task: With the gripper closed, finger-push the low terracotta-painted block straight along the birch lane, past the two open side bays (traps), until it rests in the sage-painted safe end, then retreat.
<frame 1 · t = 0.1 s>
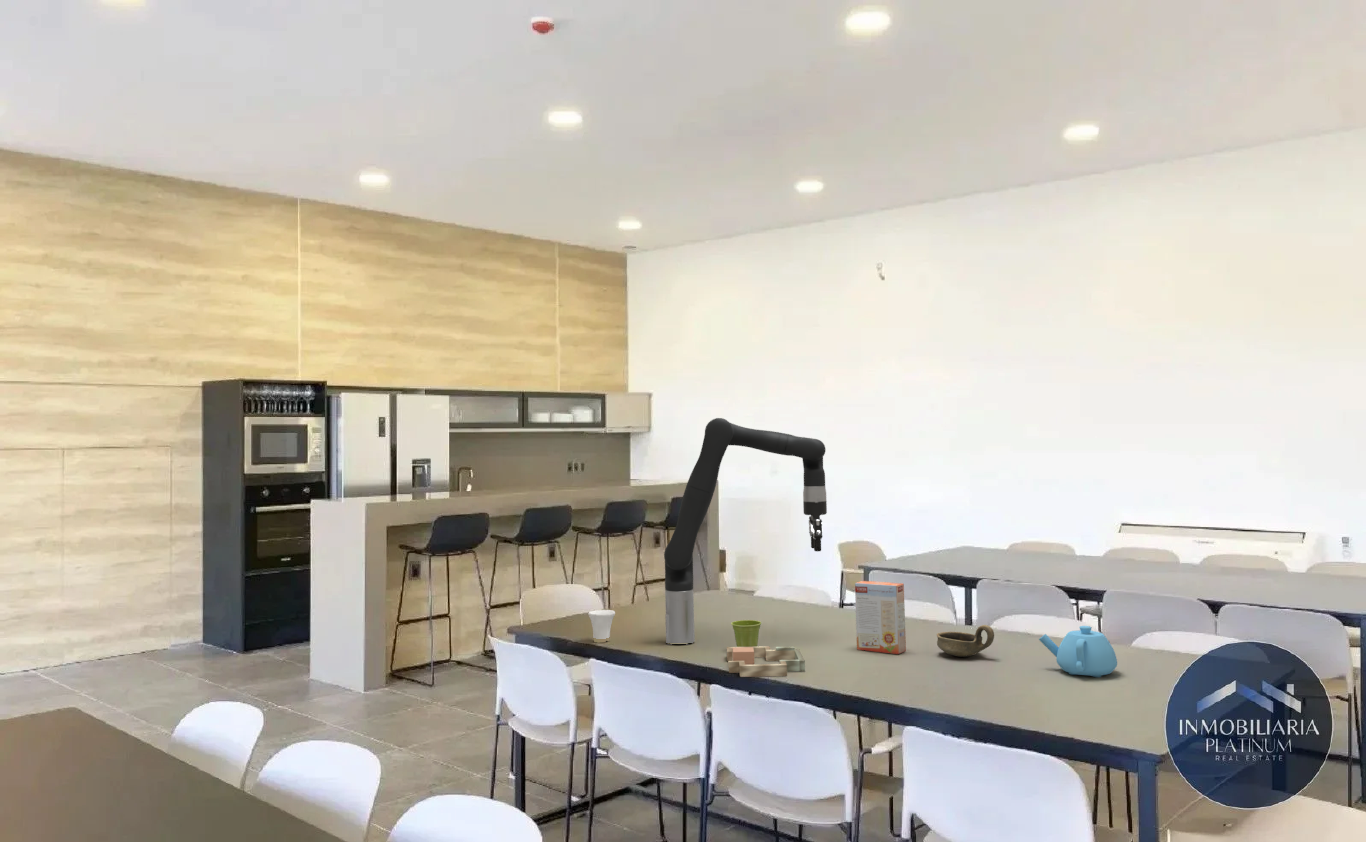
hand: (816, 549, 319), 29 cm above the table, fingers open, 8 cm apart
bowl: (965, 657, 290), on the table
cracker box: (881, 651, 300), on the table
plant pot: (747, 651, 305), on the table
block: (743, 666, 284), on the table
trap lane: (762, 666, 284), on the table
cup: (602, 642, 323), on the table
teapot: (1077, 672, 268), on the table
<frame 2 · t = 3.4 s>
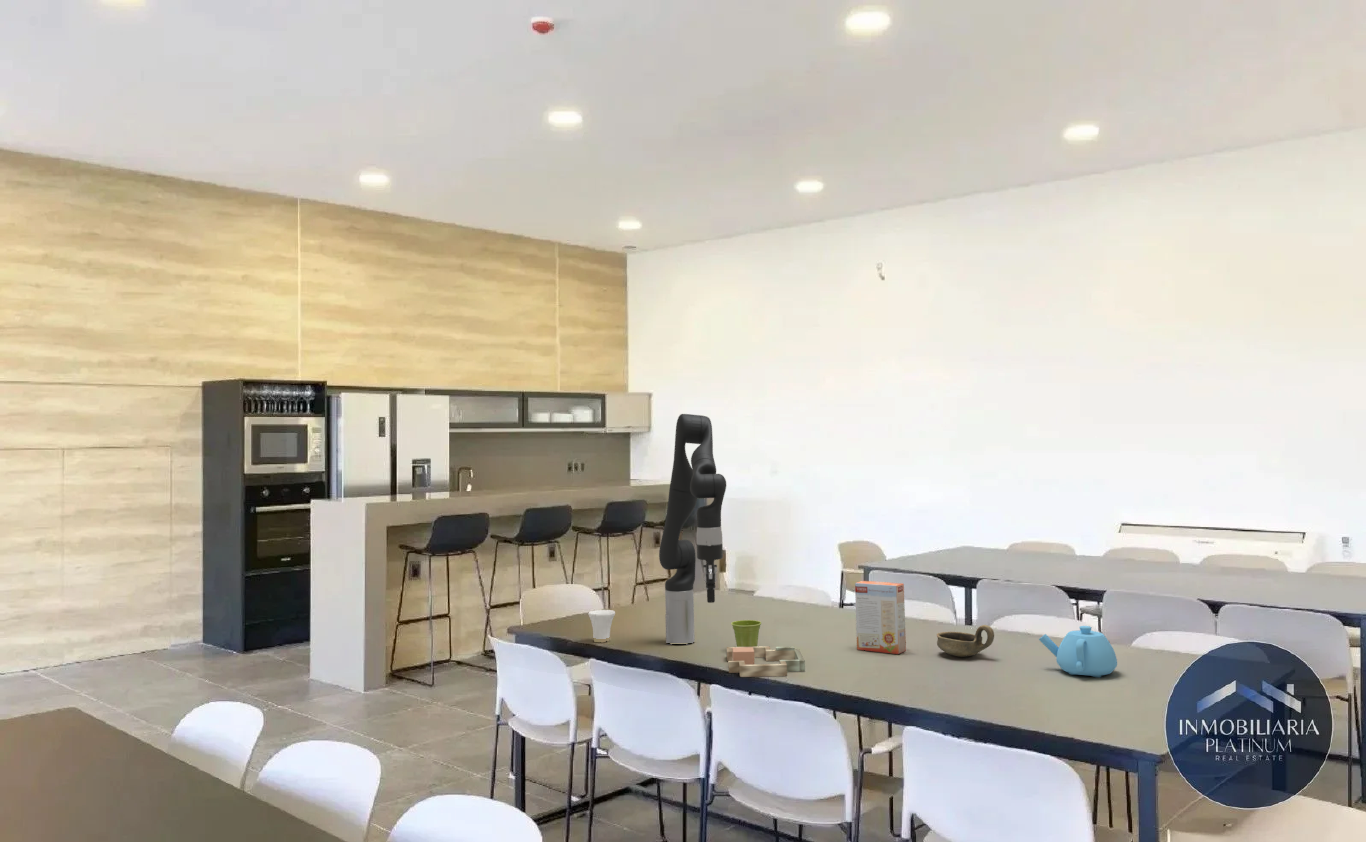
hand: (711, 602, 284), 19 cm above the table, fingers closed
nothing on the table moved.
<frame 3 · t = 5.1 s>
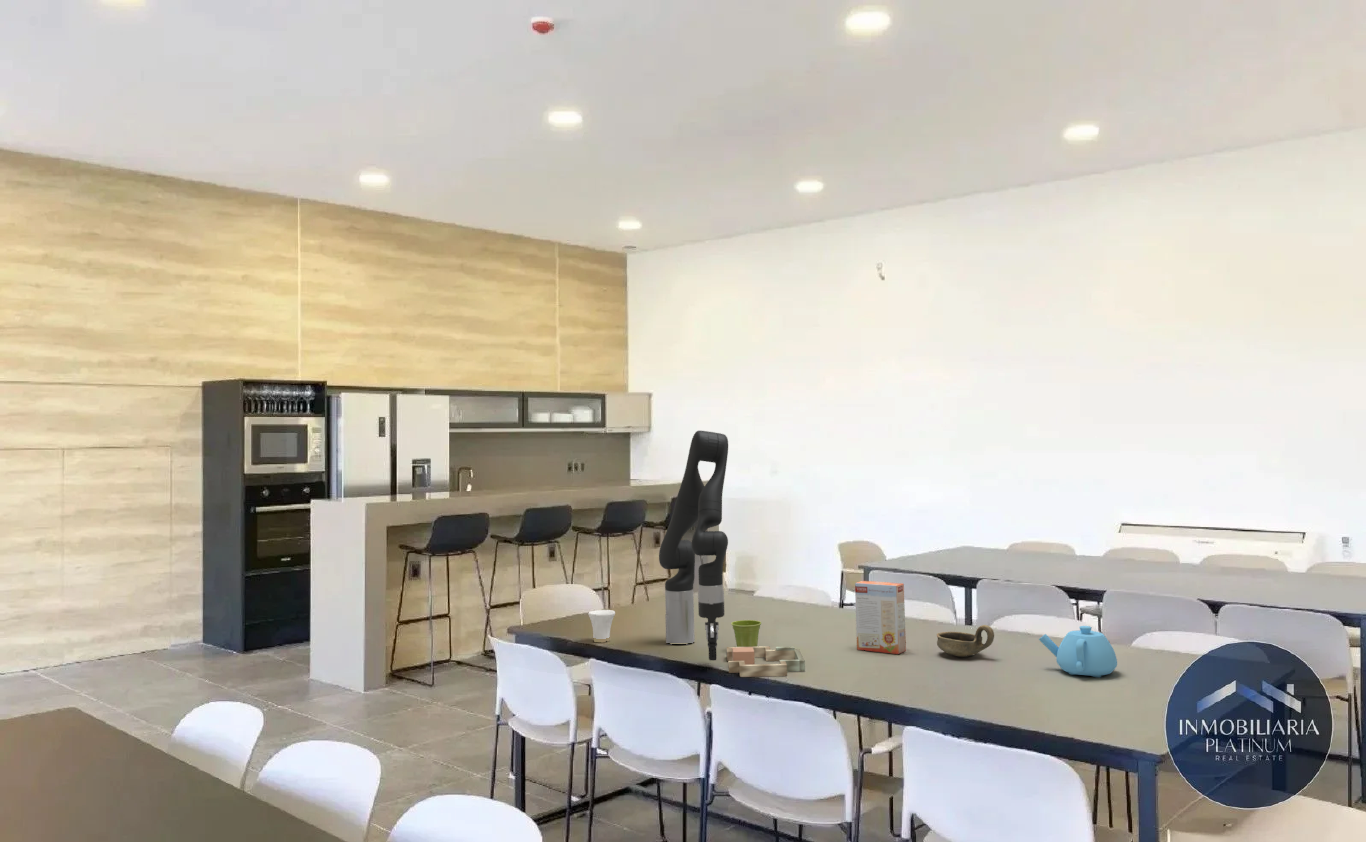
hand: (712, 659, 284), 2 cm above the table, fingers closed
nothing on the table moved.
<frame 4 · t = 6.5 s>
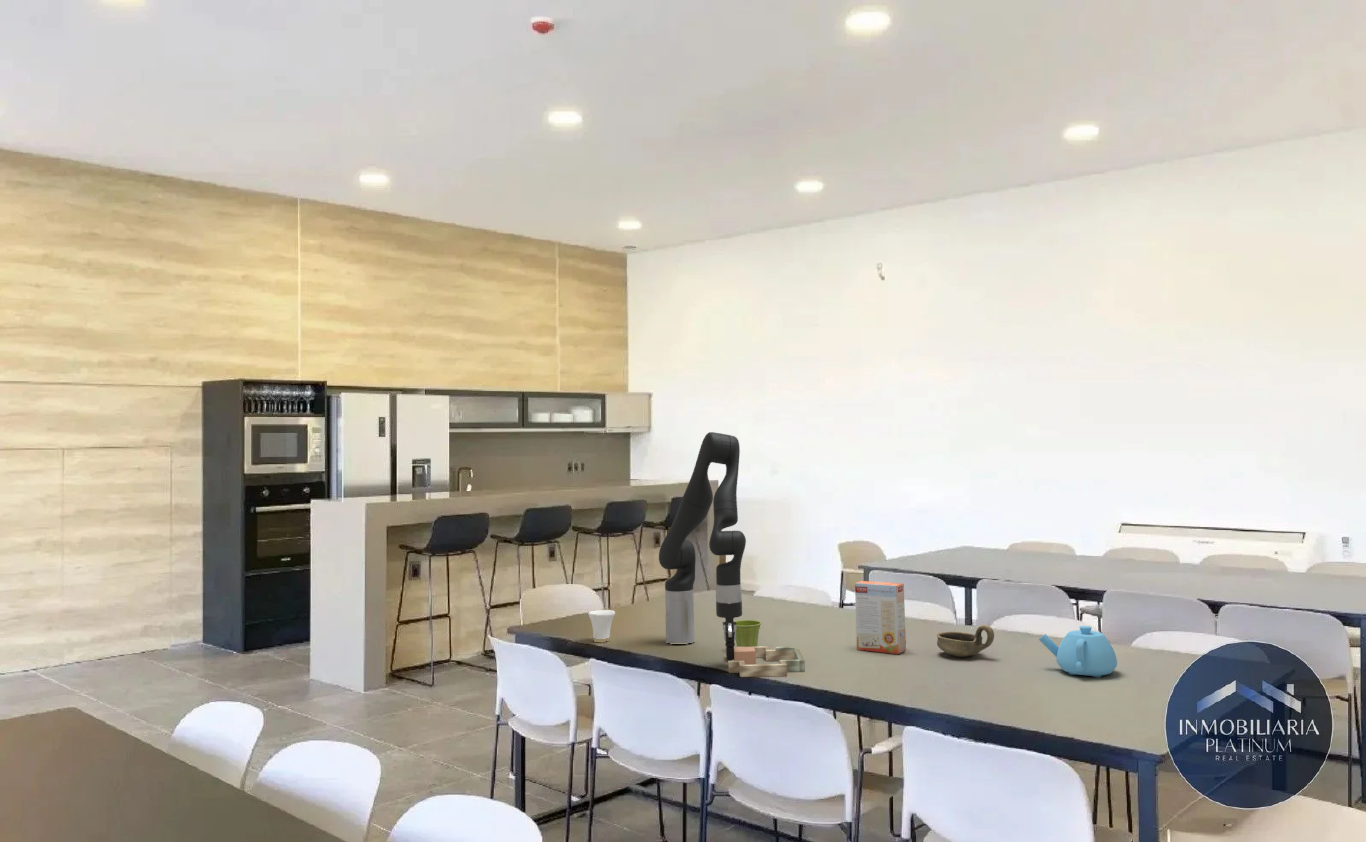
hand: (730, 659, 284), 2 cm above the table, fingers closed
block: (744, 666, 284), on the table, touching gripper
everything else where it was.
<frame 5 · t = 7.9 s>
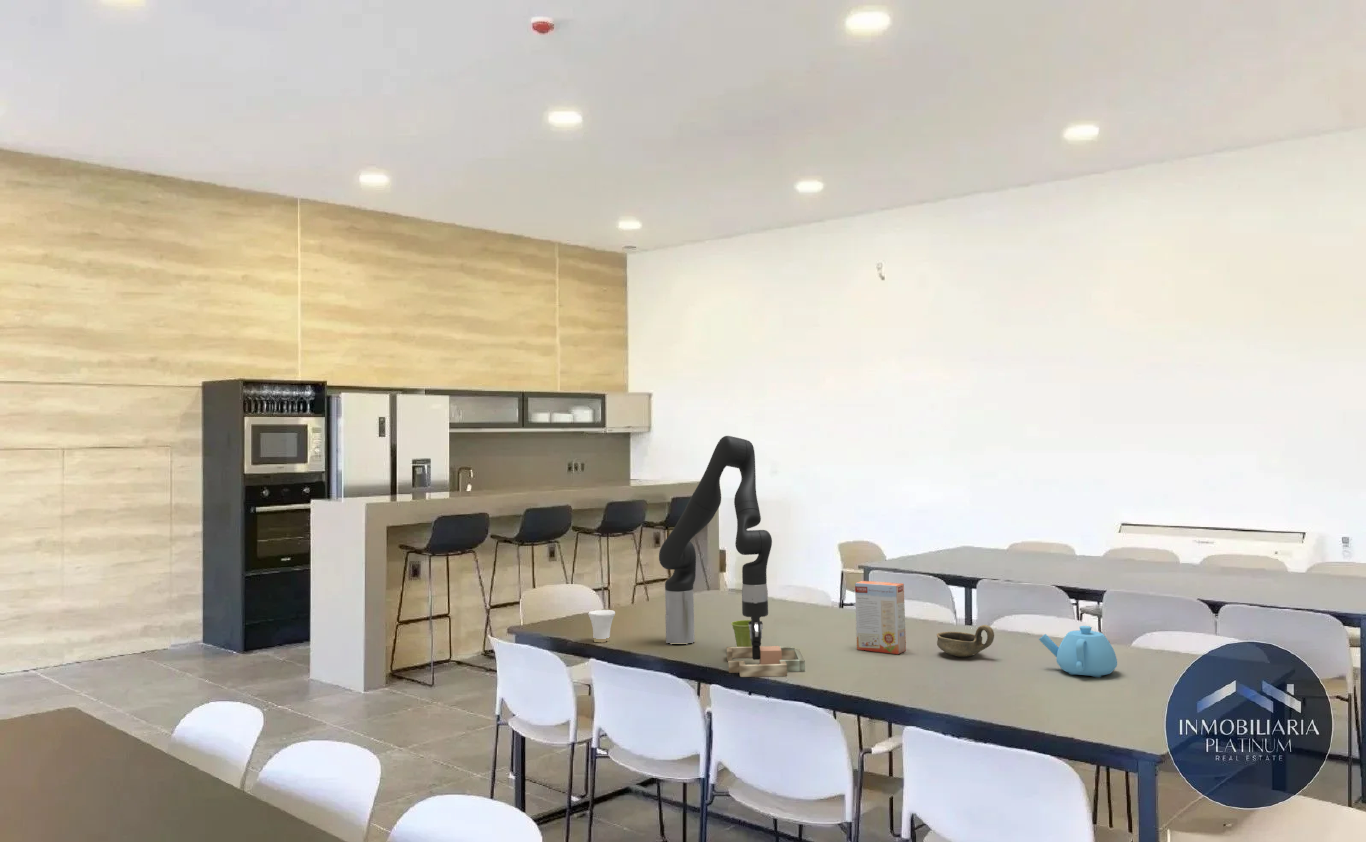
hand: (756, 659, 283), 2 cm above the table, fingers closed
block: (770, 665, 284), on the table, touching gripper
everything else where it was.
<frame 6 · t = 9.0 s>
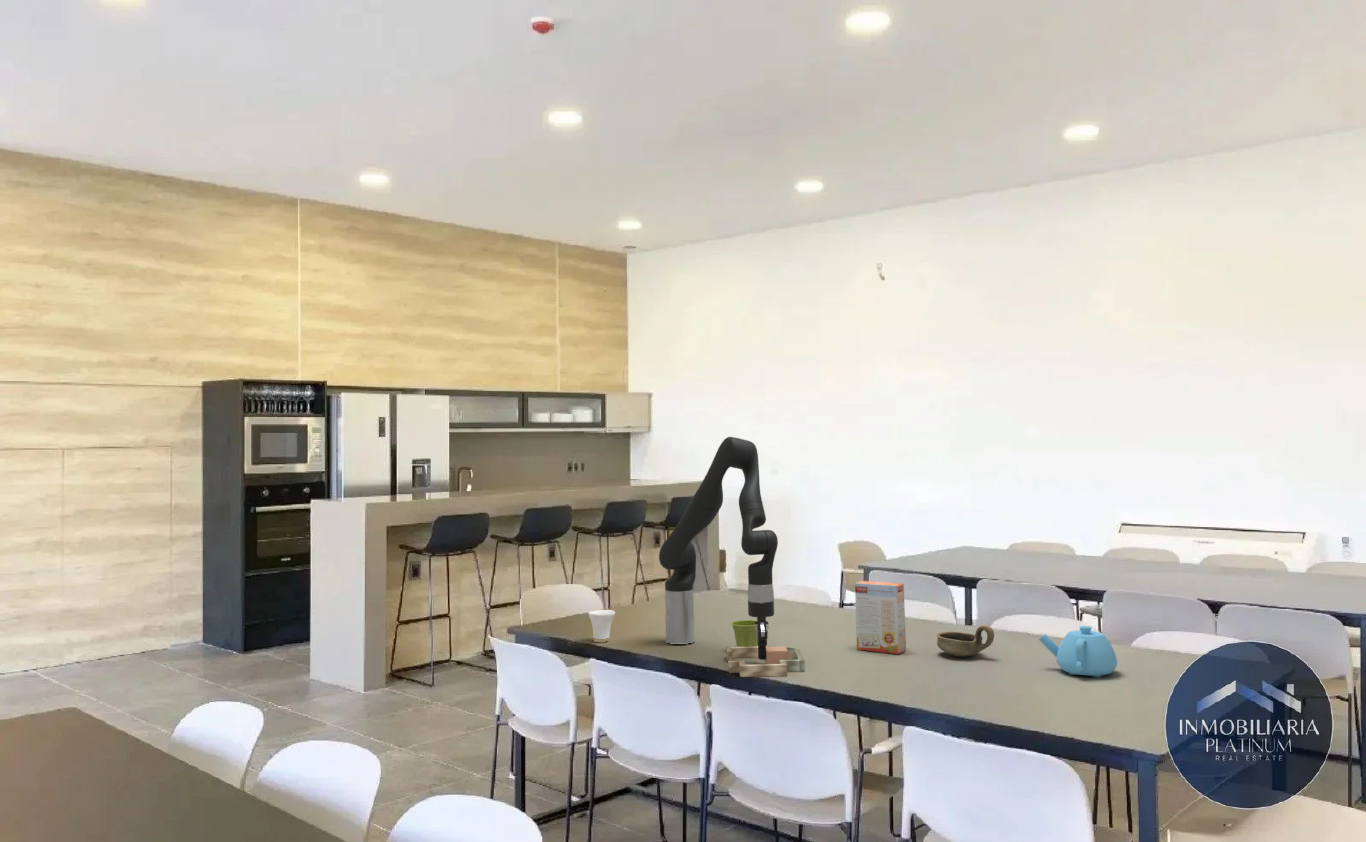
hand: (762, 659, 284), 2 cm above the table, fingers closed
block: (776, 666, 284), on the table, touching gripper
everything else where it was.
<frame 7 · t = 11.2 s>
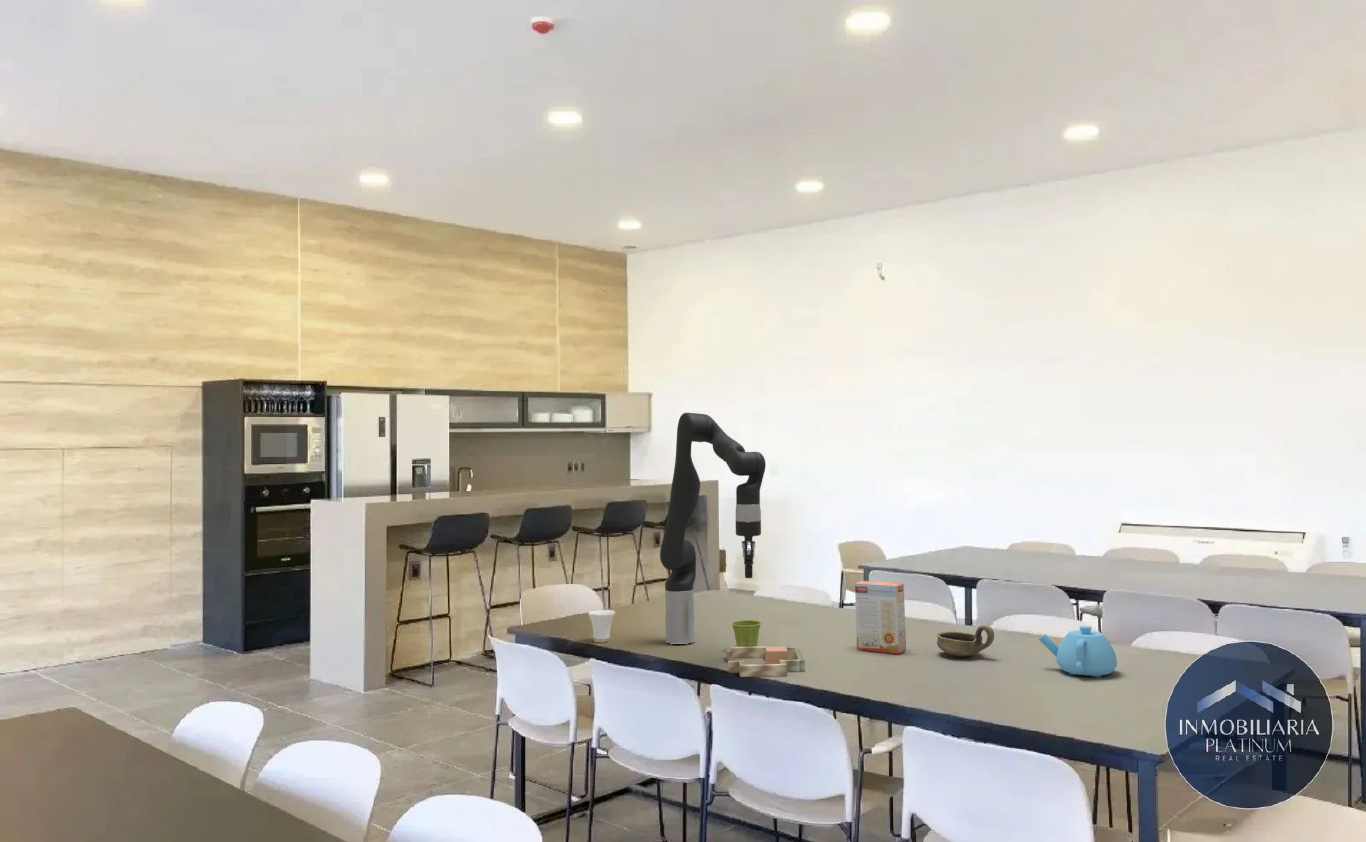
hand: (748, 577, 290), 25 cm above the table, fingers closed
block: (776, 666, 284), on the table
everything else where it was.
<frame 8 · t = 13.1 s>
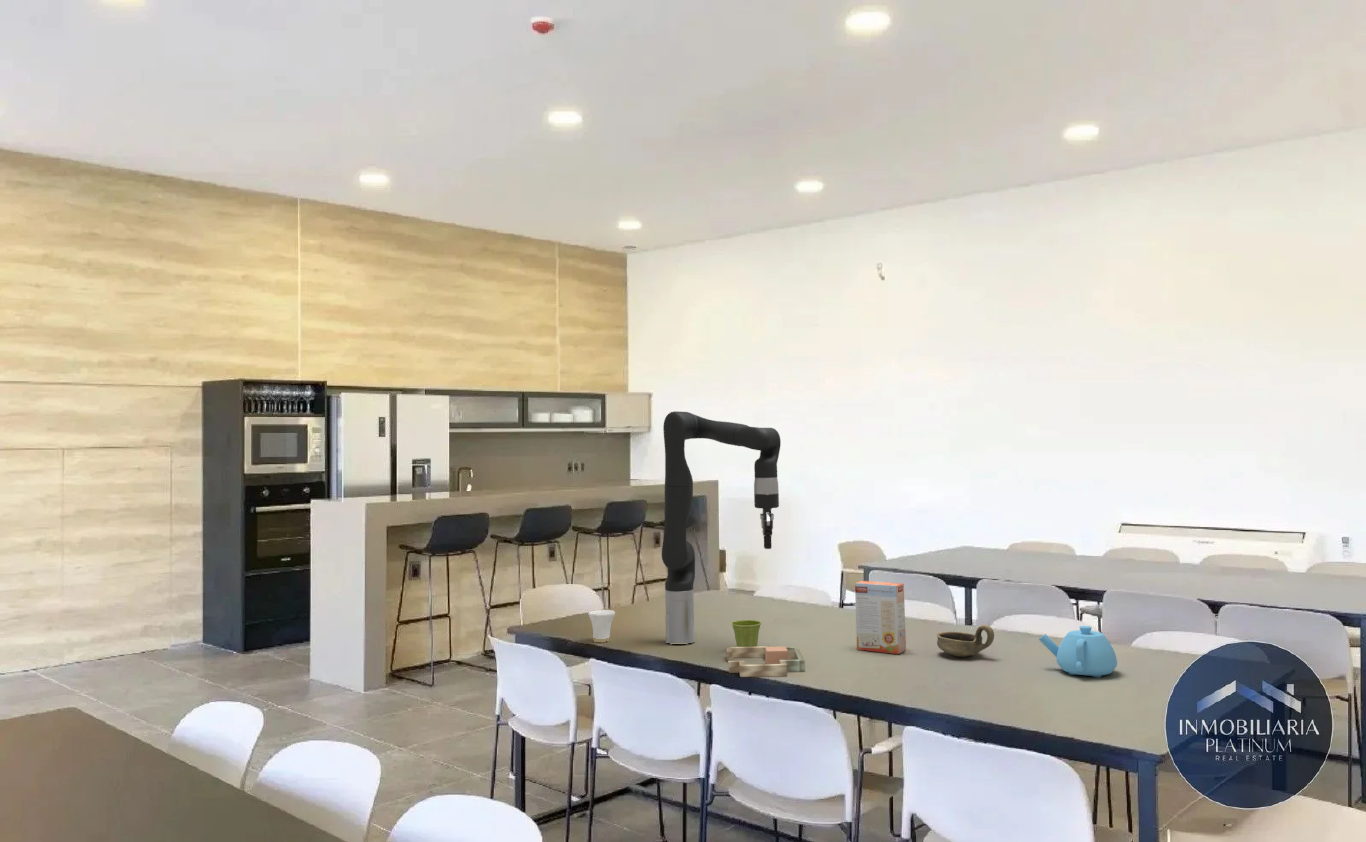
hand: (767, 548, 301), 32 cm above the table, fingers closed
nothing on the table moved.
at the end: block inside the target area (0.4 cm from its centre), on the table; block tilted 0°; block touching table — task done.
